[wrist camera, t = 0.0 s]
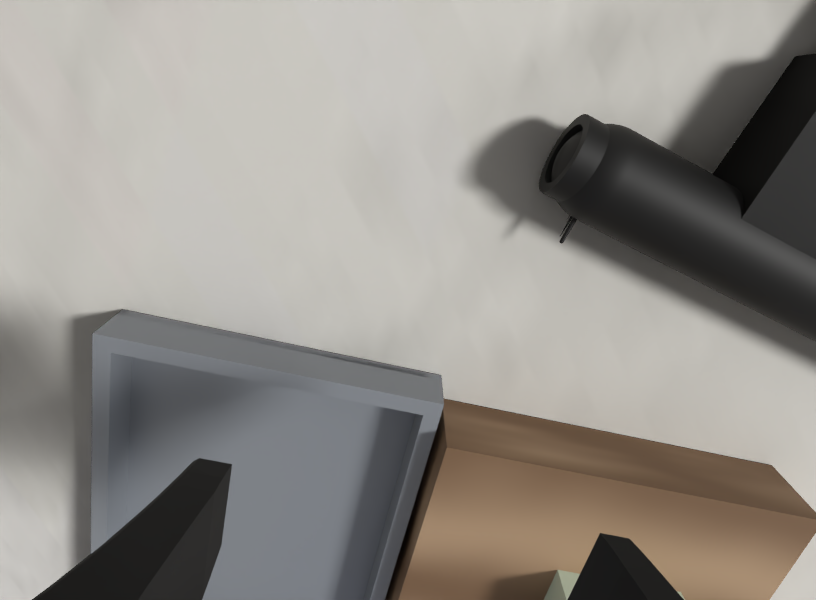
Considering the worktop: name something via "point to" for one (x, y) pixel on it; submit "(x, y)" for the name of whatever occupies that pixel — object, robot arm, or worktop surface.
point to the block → (565, 586)
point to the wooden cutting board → (589, 512)
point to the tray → (263, 451)
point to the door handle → (709, 200)
